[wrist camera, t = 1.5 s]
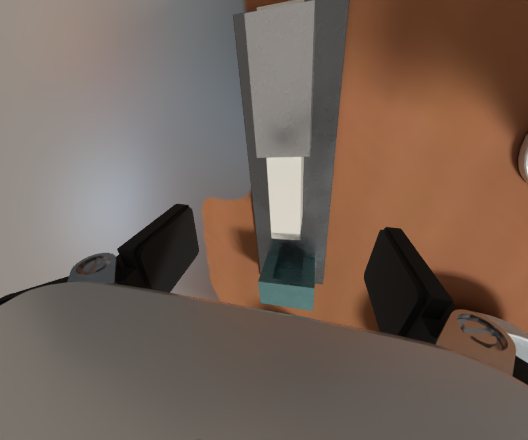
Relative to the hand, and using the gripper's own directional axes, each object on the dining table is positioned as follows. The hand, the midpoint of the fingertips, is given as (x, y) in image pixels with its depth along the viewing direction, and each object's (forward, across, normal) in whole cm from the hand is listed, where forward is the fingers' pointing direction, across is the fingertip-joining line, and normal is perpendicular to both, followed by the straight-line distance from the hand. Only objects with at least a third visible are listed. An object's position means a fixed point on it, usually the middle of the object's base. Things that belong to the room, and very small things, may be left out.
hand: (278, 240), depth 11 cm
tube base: (+21, +1, +5) cm, 22 cm away
